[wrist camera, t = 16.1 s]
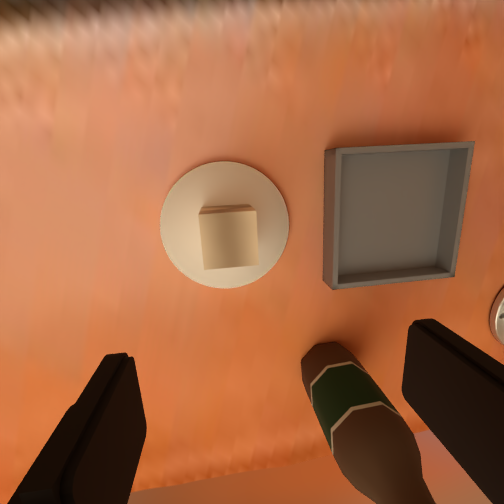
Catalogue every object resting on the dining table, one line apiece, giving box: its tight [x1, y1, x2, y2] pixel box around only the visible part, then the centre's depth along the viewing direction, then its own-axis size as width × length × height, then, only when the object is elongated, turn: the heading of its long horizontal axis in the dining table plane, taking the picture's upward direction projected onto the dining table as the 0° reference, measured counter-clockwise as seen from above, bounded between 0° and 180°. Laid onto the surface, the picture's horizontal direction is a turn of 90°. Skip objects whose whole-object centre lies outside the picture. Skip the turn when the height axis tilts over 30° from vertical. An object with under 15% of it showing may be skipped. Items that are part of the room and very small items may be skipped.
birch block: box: [198, 204, 259, 270], centre depth 28 cm, size 5×5×6 cm
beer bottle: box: [301, 342, 436, 504], centre depth 27 cm, size 8×8×24 cm
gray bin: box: [323, 141, 475, 290], centre depth 32 cm, size 15×15×3 cm
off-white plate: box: [160, 161, 289, 288], centre depth 31 cm, size 14×14×1 cm
